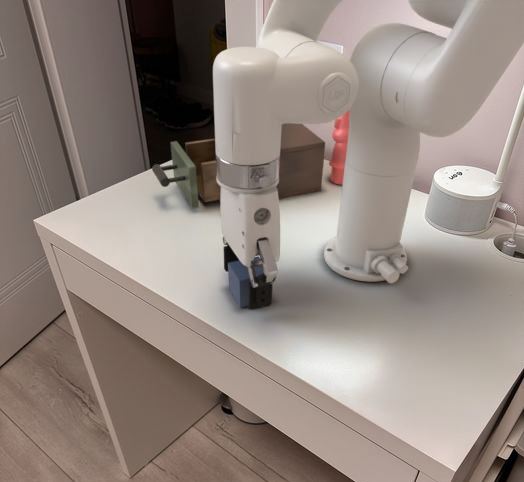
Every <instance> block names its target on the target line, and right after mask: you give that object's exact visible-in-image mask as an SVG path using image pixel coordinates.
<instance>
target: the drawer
mask: <svg viewBox="0 0 524 482" xmlns="http://www.w3.org/2000/svg"><path fill="white" fill-rule="evenodd" d="M184 144H185V145H184V146H185V150H184V149H183V148H182V146H181V145H180V144H179V142H178V141H177V140H174V141H170V152H171V162H172V164H170V165H159V163H156V164H155V163H154V165H152V167H151V170H152V172H153V174H154V176H155V177H156V179H157V180H158V182H159V184H160V185H161V187H163V188H166V187H168V186H170V183H171V184H172V183H175V184H176V185H177V187H178V188H179V190H180V192H181V194H182V195H183V196H184V198H185V199H186V201H187V202H188V204H189V205H190V207H191V208H192V209H195V208H199V196H200V198H201V199H202V201H203V202H204V203H209V202H215V201H220V196H221V186H220V185H219V184H218V183H217V180H216V147H215V138H209V139H202V140H194V141H188V142H187V141H186V142H185V143H184ZM171 170H173V177H168V176H167V174H166V173H165V172H166V171H171Z"/></svg>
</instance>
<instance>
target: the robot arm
mask: <svg viewBox="0 0 524 482" xmlns="http://www.w3.org/2000/svg"><path fill="white" fill-rule="evenodd" d="M343 1H344V0H273V1H272V2H271V5H270V7H269V10H268V13H267V15H266V17H265V21H264V22H263V24H262V27H261V30H260V33H259V34H258V37H257V41H256V43H255V46H236V47H230V48H227V49H224V50H222V51H221V52H219V53H218V54H217V55H216V57H215V58H214V61H213V65H212V89H213V117H214V139H215V147H216V180H217V183H218V184H219V185H220V186H221V196H220V200H219V202H220V205H219V206H220V207H219V208H220V209H219V210H220V229H221V234H222V243H223V245H224V246H223V270H224V271H225V272H227V273H228V263H230V262H234V261H239V260H240V261H241V263H242V264H243V265H245V266H246V267H248V271H249V275H250V280H251V283H249V284H248V306H247V307H248V309H249V310H250V311H253V310H254V311H255V310H257V309H261V308H266V307H270V306H271V305H272V303H273V285H274V283H275V282H276V278H277V275H278V273H279V267H278V264H277V263H278V262H279V261H280V258H281V210H280V198H278V190H277V188H276V186H277V184H278V183H279V169H280V146H281V128H282V124H285V123H294V124H303V125H323V124H329V123H332V122H335V120H336V119H338V118H340V117H342V116H343V115H344V114H345V113H346V112H347V111H348V110H349V135H348V145H347V153H346V161H345V168H344V177H343V185H342V187H341V195H340V204H339V212H338V221H337V229H336V236H334V237H333V238H331V239H330V240H329V241H328V242H327V243H326V245H325V247H324V252H323V259H324V261H325V263H326V264H327V266H328V267H329V268H330V269H331V270H332V271H334V272H335V273H336V274H338V275H340V276H342V277H345V278H348V279H351V280H354V281H359V282H360V281H361V282H383V281H386V282H387V283H389V284H394V283H396V282H397V281H398V280H399V278H400V274H405V273H406V272H407V271H408V270H409V266H408V265H407V262H408V254H407V252H406V250H405V249H404V246H403V244H401V241H402V235H403V230H404V227H405V222H406V217H407V212H408V208H409V204H410V203H409V202H410V197H411V193H412V188H413V184H414V180H415V175H416V169H417V165H418V161H419V157H420V151H421V134H423V135H426V136H427V137H431V138H446V137H449V136H452V135H454V134H455V133H457V132H459V131H460V130H461V129H463V128H464V127H465V126H466V125H468V123H469V122H470V121H471V120H472V119H473V118H474V117H475V115H476V114H477V113H478V111H479V110H480V109H481V108H482V107H483V105H484V103H485V102H486V100H487V99H488V97H489V96H490V94H491V93H492V92H493V90H494V88H495V87H496V86H497V84H498V83H499V81H500V79H501V78H502V76H503V75H504V73H505V72H506V70H507V69H508V68H509V66H510V64H511V63H512V62H513V60H514V58H515V57H516V55H518V53H519V51H520V50H521V48H522V46H523V45H524V0H408V3H409V6H410V7H411V10H412V11H413V12H414V13H415V14H416V15H418V16H419V17H421V18H423V19H424V20H426V21H427V22H431V23H433V24H436V25H438V26H442V27H445V28H448V29H450V30H451V31H450V32H449V34H448V36H447V37H444V36H441V35H438V34H437V33H434V32H431V31H428V30H425V29H421V28H419V27H415V26H412V25H410V24H406V23H401V22H385V23H383V24H379V25H377V26H374V27H373V28H371V29H369V30H368V31H367V32H366V33H364V34H363V35H362V36H361V38H360V39H359V40H358V42H357V44H356V45H355V46H354V49H353V51H352V52H351V56H350V58H348V57H347V56H346V55H345V54H343V53H341V52H340V51H338V50H336V49H334V48H332V47H330V46H327V45H325V44H323V43H321V42H319V41H317V40H318V38H319V36H320V34H321V32H322V30H323V28H324V27H325V24H326V23H327V21H328V19H329V18H330V16H331V15H332V14H333V12H334V11H335V9H336V8H338V6H339V5H340V4H341V3H342V2H343ZM257 256H259V258H260V259H261V260H259V261H254V262H252V260H254V258H255V257H257ZM260 265H263V268H264V270H263V274H260V275H259V276H256V271H255V266H260Z"/></svg>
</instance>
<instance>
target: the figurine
mask: <svg viewBox="0 0 524 482" xmlns="http://www.w3.org/2000/svg"><path fill="white" fill-rule="evenodd" d="M333 126H334V129H333V130H332V132H331V137H332V140H333V141H334V142H335V143H334V145H333V149H332V153H331V154H332V155H331V158H330V160H329V162H328V164H329V166H330V167H331V169H330V179H329V180H330V182H331V183H333V184H336V185H340V186H341V185H343V177H344V168H345V161H346V153H347V145H348V135H349V110H348V111H347V112H346V113H345V114H344V115H343V116H341V117H340V118H338V119H336V120H334V124H333Z"/></svg>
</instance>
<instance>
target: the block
mask: <svg viewBox="0 0 524 482" xmlns="http://www.w3.org/2000/svg"><path fill="white" fill-rule="evenodd" d="M259 260H261V259H260V256H255V258H254V260H252V262H254V261H259ZM263 270H264V268H263V265H260V266H255V271H256V276H259V275H260V274H263ZM227 274H228V277H227V278H228V279H227V280H228V291H229V293H230V295H231V296H232V297H233V299H234V301H235V303H236V304H237V305H238V307H239V309H242V308H246V307H248V284H249V283H251V280H250V275H249V271H248V267H246V266H245V265H243V264H242V263H241V261H240V260H239V261H234V262H230V263H228V272H227Z"/></svg>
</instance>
